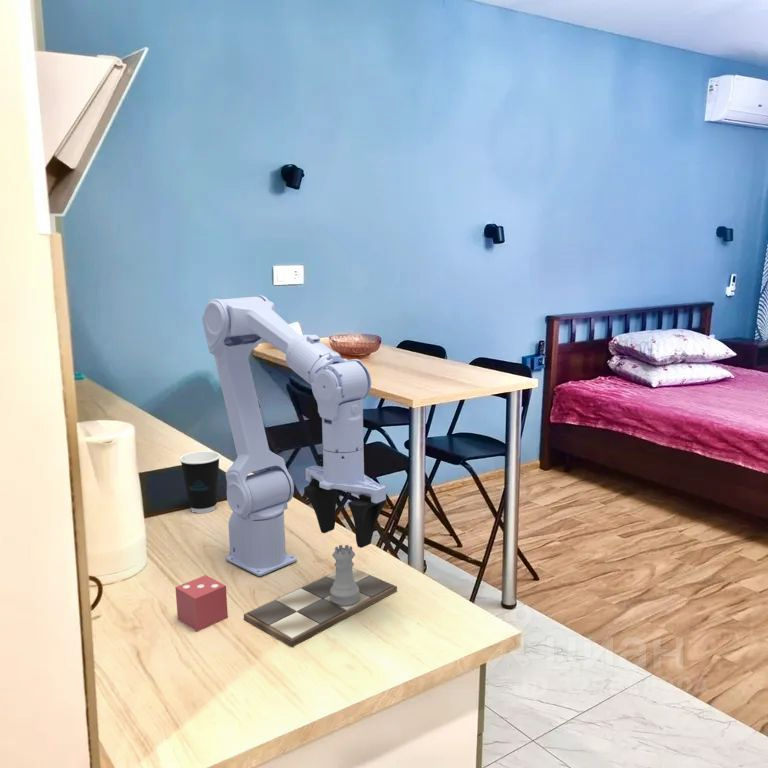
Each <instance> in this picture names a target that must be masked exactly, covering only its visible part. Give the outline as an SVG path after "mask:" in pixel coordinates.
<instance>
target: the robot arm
mask: <svg viewBox="0 0 768 768" xmlns="http://www.w3.org/2000/svg"><path fill="white" fill-rule="evenodd" d="M201 321H202V325H203V330H204V335H205V339H206V343H207V346H208V351H209V353H210V354H211V355H213V356H214V361H215V364H216V370H217V374H218V378H219V383H220V385H221V386H220V387H221V391H222V395H223V401H224V405H225V409H226V413H227V418H228V422H229V427H230V429H231V435H232V438H233V443H234V449H235V452H236V455H237V457H236V459H235V460H234V461H233V463H232V464H231V466H230V467H229V468H227V471H226V472H225V480H226V499H227V503H228V506H229V508H230V510H231V511H232V512H231V515H230V517H229V520H228V539H229V555H228V556H225V560H226V561H228V562H229V563H231V564H234V565H235V566H238V567H240V568H241V569H243V570H246V571H248V572H250V573H251V574H254V575H256V576H258V577H262V576H264V575H266V574H269V573H271V572H273V571H276V570H279V569H281V568H284V567H285V566H288V565H290V564H292V563H295V562H297V561H298V558H297V557H296V556H294V555H292V554H289V553H287V552H286V551H287V550H286V533H285V529H286V528H285V510H287V509H288V503H290V502H291V500H292V499H293V496H294V493H295V484H294V480H293V477H292V476H291V474H290V472H289V471H288V468H287V466H286V463H285V462H286V461H285V459H284V458H283V457H282V456H280V455H278V454H276V453H274V452H272V451H271V450H270V447H269V443H268V438H267V434H266V430H265V425H264V420H263V417H262V412H261V408H260V404H259V400H258V399H259V398H258V394H257V391H256V387H255V383H254V377H253V373H252V369H251V365H250V361H249V357H250V354H251V353H252V350H254V349H256V348H257V347H258V346H260V344H261V343H262V341H263V340H264V341H266V342H267V343H269V345H271V346H272V347H274V348H275V349H277V350H279V351H280V352H281V353H283V354H284V355H285V356H284V357H285V359H284V360H285V363H286V365H287V366H288V368H290V369H291V370H292V371H293V372H294V373H296V374H297V375H298V376H299V377H300V378H302V379H303V380H304V381H305V382H307V384H309V385H310V386H311V390H312V395H313V397H314V399H315V400H316V403H317V413H318V414H319V417H320V418H321V428H322V430H321V433H322V460H323V461H322V462H323V464H322V465H323V466H319V465H312V466H309V467H308V466H307V467H306V468H305V481H306V482H310V484H309V485H307V486H305V487H304V488H303V493H304V495H306V497H307V499H308V500H309V502H310V504H311V505H312V508H313V510H314V513H315V516H316V519H317V523H318V525H319V526H318V527H319V530H320V533H321V534H326V533H329V532H331V531H333V530H335V526H336V516H337V515H336V512H337V511H336V509H337V508H336V507H337V499H338V494H339V490H340V491H344V492H348V493H350V494H353V495H356V496H358V497H359V498H357V499H353V500H351V501H349V502H348V503H347V506H348V508H349V509H350V512H351V515H352V519H353V523H354V530H355V541H356V546H357V548H360V549H363V548H365V547H367V546H368V545H371V544H372V539H373V535H374V531H375V528H376V524H377V522H378V519H379V516H380V514H381V513H382V510H383V509H384V507H385V505H386V503H387V487H386V486H385V485H383V484H380V483H378V482H376V481H375V480H373V478H370V477H369V476H368V475H367V474H365V461H364V460H365V457H364V450H365V449H364V408H363V406H364V405H363V403H364V402H363V401H364V400H365V399H366V398H367V397H368V396H369V394H370V392H371V390H372V377H371V374H370V371H369V370H368V367H366V365H365V364H364V363H363V362H362V361H361V360H360V359H357V358H354V359H353V358H352V359H347V358H342V356H341V354H340V353H338V352H337V351H334V350H333V349H331V348H330V347H329V346H327V345H326V344H324V343H323V342H322V341H320V340H321V338H320V337H319V336H318V335H317V334H303V335H302V334H301V335H300V334H299V333H298V332H297V331H296V330H295V329H294V328H293V327H292V326H290V324H289V323H288V322H287V321H286V320H284V318H282V317H281V316H280V315H279V314H278V313H277V311H276V306H275V304H274V302H273V301H270V300H269V299H268V298H267V297H266V296H264V295H262V294H259V295H255V296H246V297H234V298H222V299H220V298H212V299H210V300H209V301H208V302H207V304H206V306H205V309H204V312H203V315H202V318H201ZM263 469H264V470H263ZM260 470H262V471H260ZM257 471H260V472H257ZM252 472H257V473H252ZM251 473H252V474H251Z"/></svg>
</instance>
